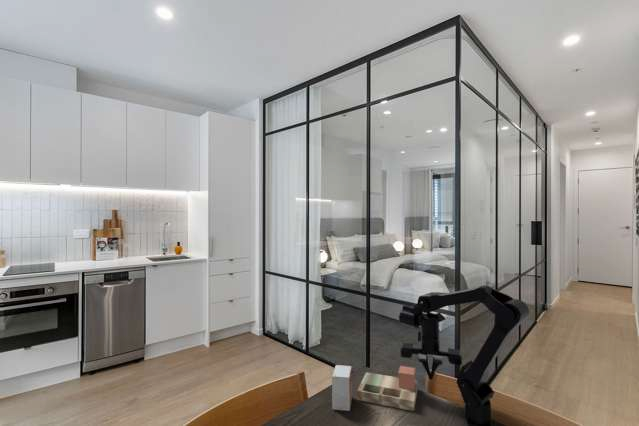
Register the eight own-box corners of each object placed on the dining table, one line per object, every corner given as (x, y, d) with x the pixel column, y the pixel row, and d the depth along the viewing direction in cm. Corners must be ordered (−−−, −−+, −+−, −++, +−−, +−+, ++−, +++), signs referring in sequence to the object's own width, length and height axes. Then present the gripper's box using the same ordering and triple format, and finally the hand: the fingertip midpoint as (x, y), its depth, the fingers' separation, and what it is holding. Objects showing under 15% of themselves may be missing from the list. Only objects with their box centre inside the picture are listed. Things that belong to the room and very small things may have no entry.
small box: (349, 411, 100) (349, 377, 100) (332, 409, 101) (331, 376, 101) (352, 397, 107) (352, 365, 107) (335, 395, 109) (335, 364, 109)
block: (415, 382, 110) (415, 368, 110) (414, 390, 106) (414, 375, 106) (400, 380, 112) (400, 365, 112) (398, 387, 108) (398, 372, 108)
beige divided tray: (417, 389, 112) (417, 380, 112) (414, 411, 99) (414, 401, 99) (366, 380, 118) (366, 372, 118) (357, 399, 106) (357, 390, 106)
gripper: (459, 326, 110) (460, 372, 110) (403, 321, 117) (404, 364, 117) (461, 338, 100) (462, 389, 100) (399, 331, 107) (400, 379, 107)
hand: (430, 379), depth 106 cm, fingers closed
